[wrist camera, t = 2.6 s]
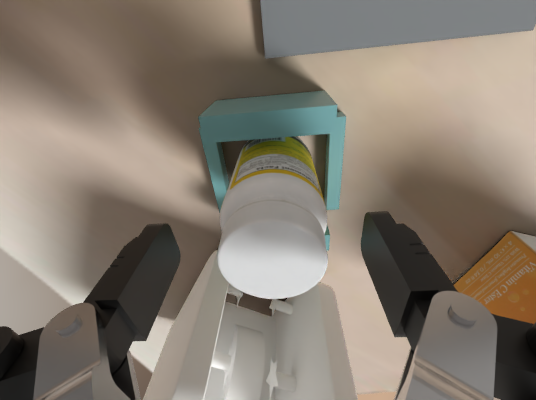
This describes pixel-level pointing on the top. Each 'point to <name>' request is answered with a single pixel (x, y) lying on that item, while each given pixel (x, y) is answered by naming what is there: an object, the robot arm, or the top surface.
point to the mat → (384, 22)
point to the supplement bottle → (273, 221)
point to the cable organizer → (253, 347)
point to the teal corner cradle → (274, 133)
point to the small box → (505, 278)
